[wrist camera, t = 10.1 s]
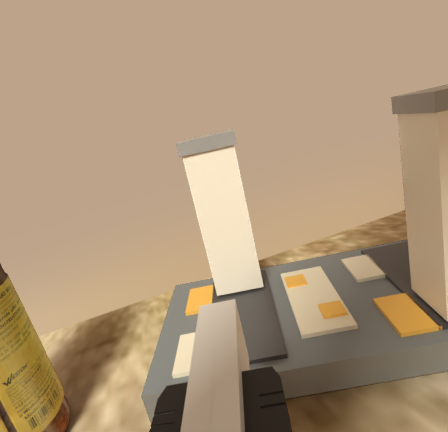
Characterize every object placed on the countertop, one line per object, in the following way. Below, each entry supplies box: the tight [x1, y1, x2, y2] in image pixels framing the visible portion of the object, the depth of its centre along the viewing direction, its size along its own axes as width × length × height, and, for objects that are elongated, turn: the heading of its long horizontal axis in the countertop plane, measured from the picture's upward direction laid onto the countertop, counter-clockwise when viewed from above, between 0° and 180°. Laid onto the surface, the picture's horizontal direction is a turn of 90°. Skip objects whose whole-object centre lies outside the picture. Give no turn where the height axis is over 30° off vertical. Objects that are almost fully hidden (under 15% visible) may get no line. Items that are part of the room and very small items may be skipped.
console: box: [141, 239, 448, 422], centre depth 26 cm, size 23×14×2 cm, turn 89°
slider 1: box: [176, 129, 264, 296], centre depth 29 cm, size 4×4×13 cm
